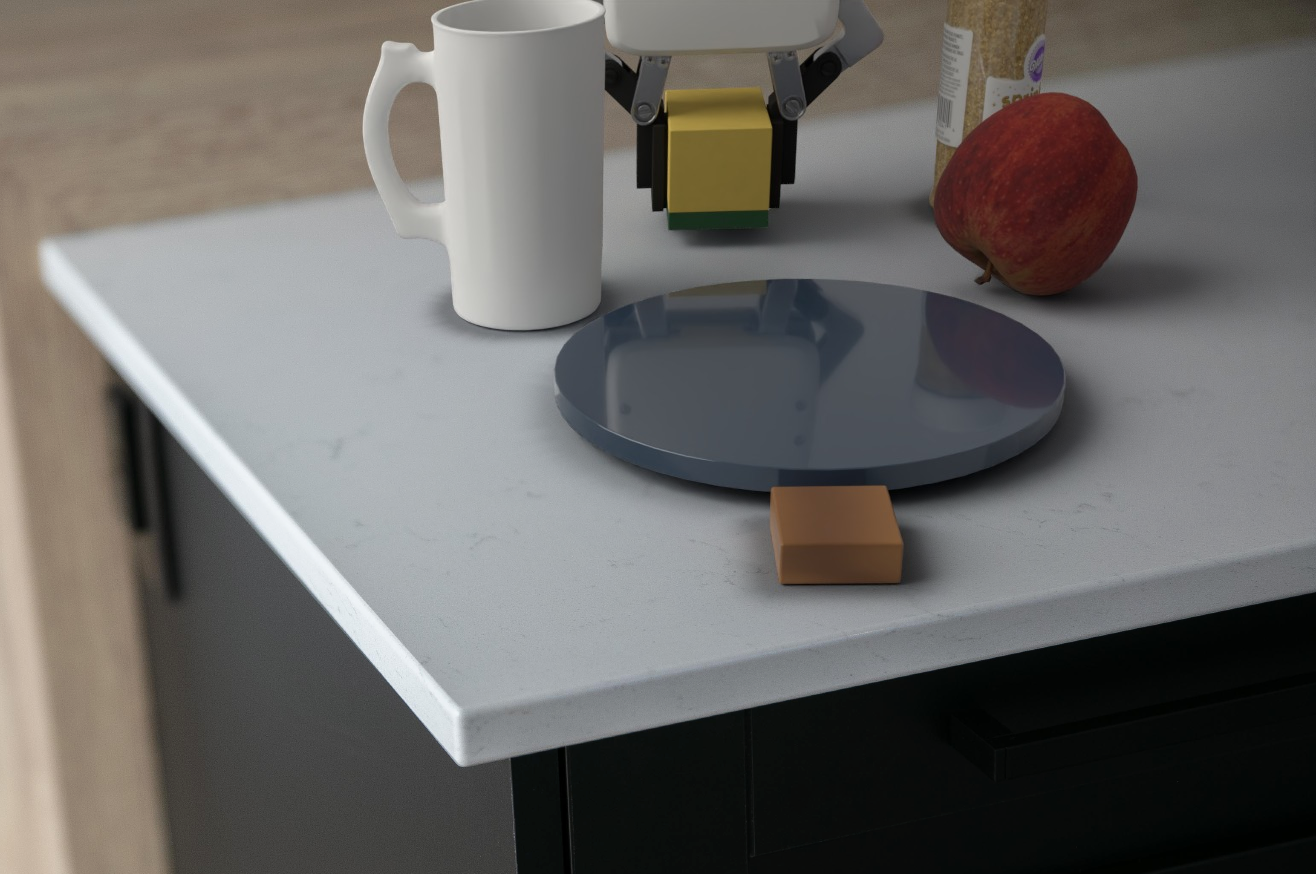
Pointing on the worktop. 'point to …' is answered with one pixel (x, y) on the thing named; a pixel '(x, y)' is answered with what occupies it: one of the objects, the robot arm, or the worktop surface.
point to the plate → (809, 385)
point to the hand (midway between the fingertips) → (714, 197)
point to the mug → (507, 156)
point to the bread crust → (835, 535)
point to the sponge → (718, 158)
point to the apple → (1038, 194)
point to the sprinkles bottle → (985, 66)
